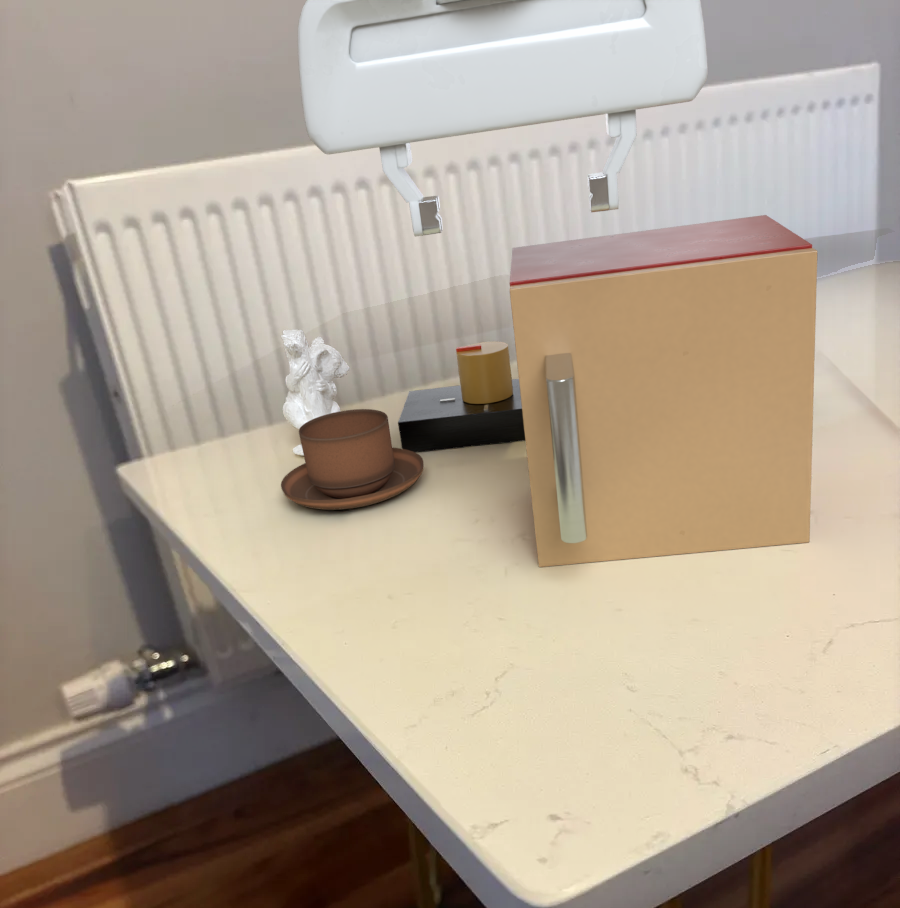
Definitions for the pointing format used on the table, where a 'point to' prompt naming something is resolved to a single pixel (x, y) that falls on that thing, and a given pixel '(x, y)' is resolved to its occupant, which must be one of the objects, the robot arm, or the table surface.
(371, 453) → the cup and saucer
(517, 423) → the valve panel
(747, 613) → the table surface
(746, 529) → the cabinet door
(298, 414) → the white sculpted figure
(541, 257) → the cabinet
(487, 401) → the valve knob
